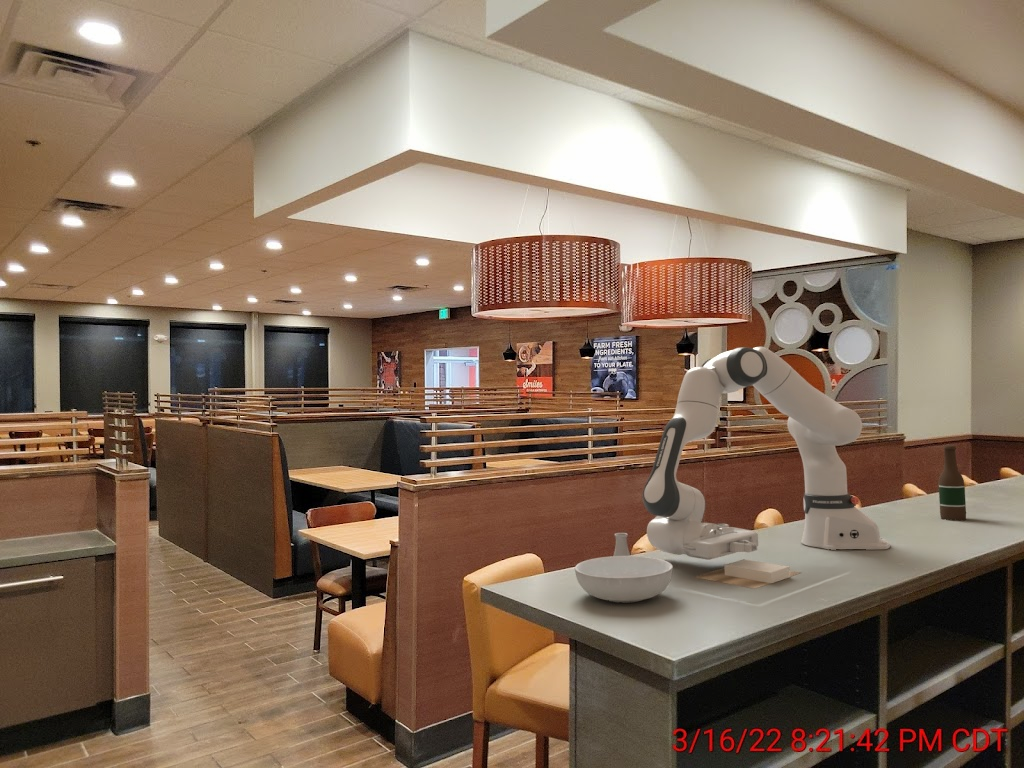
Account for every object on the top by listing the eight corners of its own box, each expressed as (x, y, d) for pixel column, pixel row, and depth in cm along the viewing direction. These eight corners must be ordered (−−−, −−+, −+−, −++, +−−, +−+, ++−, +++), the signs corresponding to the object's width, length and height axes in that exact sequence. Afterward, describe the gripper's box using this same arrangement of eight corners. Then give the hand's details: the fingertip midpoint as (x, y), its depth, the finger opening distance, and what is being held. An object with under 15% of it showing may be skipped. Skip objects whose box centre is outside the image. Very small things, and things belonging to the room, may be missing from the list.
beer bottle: (944, 516, 248) (941, 444, 248) (970, 518, 242) (967, 445, 242) (935, 519, 243) (932, 446, 243) (961, 521, 237) (958, 446, 237)
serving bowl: (590, 583, 173) (589, 553, 173) (680, 588, 165) (679, 557, 165) (563, 607, 153) (562, 573, 154) (664, 614, 146) (663, 579, 146)
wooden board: (693, 578, 173) (693, 576, 173) (742, 564, 186) (741, 562, 186) (754, 590, 161) (754, 588, 161) (801, 574, 174) (801, 572, 174)
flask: (637, 579, 175) (635, 536, 175) (606, 578, 177) (605, 536, 177) (638, 572, 182) (636, 531, 182) (608, 571, 184) (607, 531, 184)
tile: (724, 564, 174) (770, 572, 165) (743, 559, 179) (789, 566, 170) (724, 575, 174) (771, 583, 164) (743, 569, 179) (790, 577, 170)
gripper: (677, 533, 176) (727, 540, 166) (727, 522, 189) (776, 528, 179) (678, 560, 176) (728, 569, 165) (728, 547, 189) (777, 554, 179)
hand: (754, 547), depth 172 cm, fingers closed
